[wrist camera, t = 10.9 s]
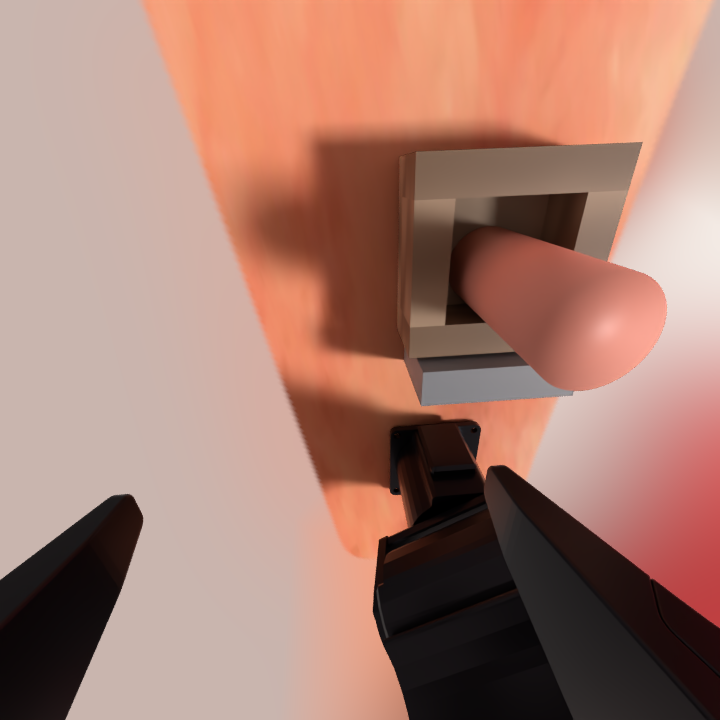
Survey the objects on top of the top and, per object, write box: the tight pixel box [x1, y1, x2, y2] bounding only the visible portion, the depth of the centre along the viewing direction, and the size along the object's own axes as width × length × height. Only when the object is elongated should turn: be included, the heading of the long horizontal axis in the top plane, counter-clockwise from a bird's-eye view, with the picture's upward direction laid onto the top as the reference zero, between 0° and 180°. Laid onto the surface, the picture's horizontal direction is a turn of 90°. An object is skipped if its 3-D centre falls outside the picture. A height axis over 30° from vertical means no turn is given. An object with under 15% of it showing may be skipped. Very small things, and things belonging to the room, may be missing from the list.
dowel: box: [449, 226, 667, 391], centre depth 14 cm, size 4×4×9 cm
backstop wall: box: [404, 347, 574, 406], centre depth 20 cm, size 2×8×5 cm, turn 92°
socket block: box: [397, 142, 643, 358], centre depth 17 cm, size 9×9×4 cm
